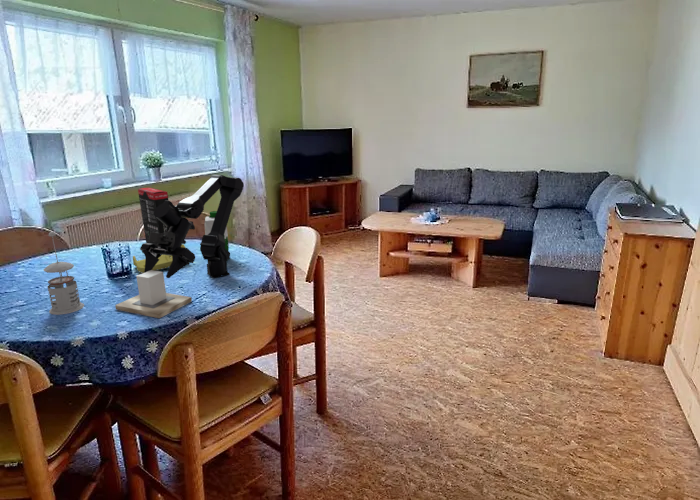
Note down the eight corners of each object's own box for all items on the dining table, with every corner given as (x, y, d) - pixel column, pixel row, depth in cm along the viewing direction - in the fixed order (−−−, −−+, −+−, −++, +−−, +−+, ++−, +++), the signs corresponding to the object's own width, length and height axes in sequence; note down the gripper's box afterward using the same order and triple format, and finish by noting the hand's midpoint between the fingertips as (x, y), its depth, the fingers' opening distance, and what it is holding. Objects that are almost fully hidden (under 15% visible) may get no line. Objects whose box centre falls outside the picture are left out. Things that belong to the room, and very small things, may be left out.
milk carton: (229, 255, 201) (225, 210, 195) (229, 262, 192) (225, 214, 187) (208, 257, 199) (203, 211, 193) (207, 263, 191) (202, 215, 185)
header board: (150, 294, 159) (148, 281, 158) (191, 301, 152) (190, 288, 151) (115, 309, 147) (113, 295, 145) (159, 318, 140) (157, 303, 138)
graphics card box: (176, 250, 211) (169, 190, 203) (161, 253, 206) (153, 192, 198) (159, 243, 222) (151, 186, 214) (144, 246, 217) (136, 188, 210)
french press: (46, 316, 142) (29, 237, 135) (52, 303, 152) (36, 229, 145) (82, 311, 146) (68, 233, 139) (86, 298, 156) (72, 225, 149)
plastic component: (139, 269, 178) (131, 253, 184) (141, 283, 183) (133, 266, 188) (190, 256, 188) (182, 241, 194) (191, 269, 193) (182, 254, 199)
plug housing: (155, 296, 153) (151, 270, 150) (166, 298, 151) (163, 271, 148) (140, 302, 147) (136, 275, 145) (152, 305, 145) (148, 277, 143)
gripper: (139, 219, 152) (117, 261, 146) (184, 223, 145) (162, 267, 139) (161, 236, 162) (141, 276, 155) (204, 241, 154) (184, 283, 148)
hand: (156, 276), depth 149 cm, fingers open, 9 cm apart
